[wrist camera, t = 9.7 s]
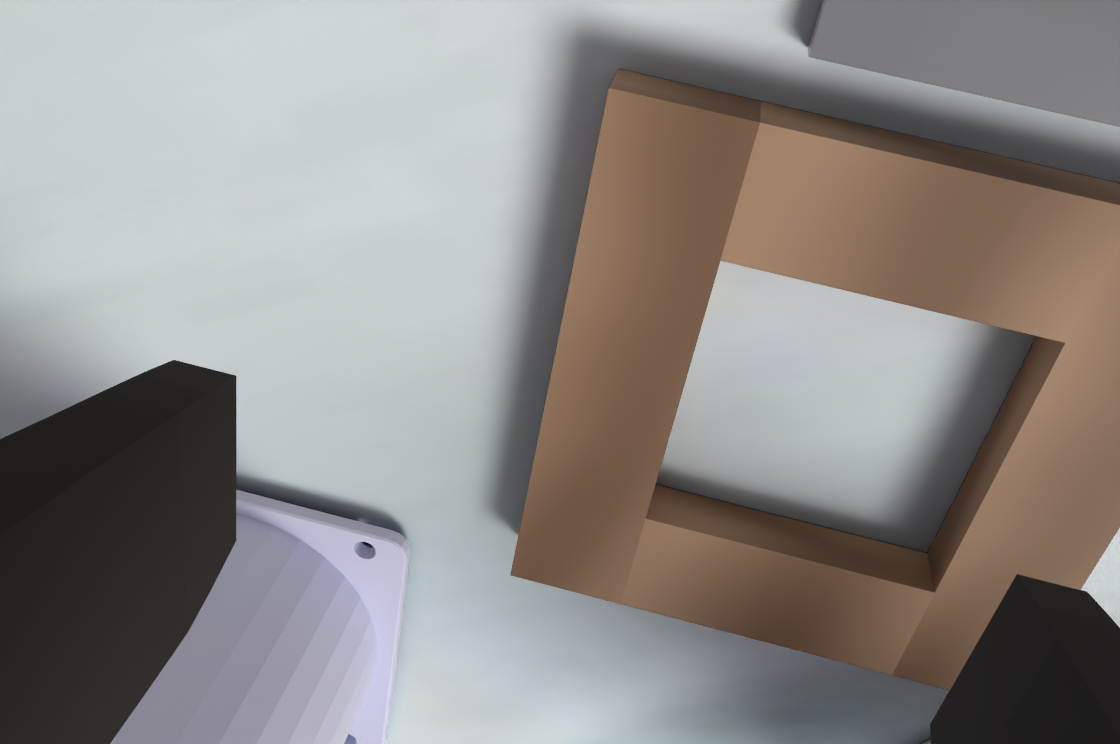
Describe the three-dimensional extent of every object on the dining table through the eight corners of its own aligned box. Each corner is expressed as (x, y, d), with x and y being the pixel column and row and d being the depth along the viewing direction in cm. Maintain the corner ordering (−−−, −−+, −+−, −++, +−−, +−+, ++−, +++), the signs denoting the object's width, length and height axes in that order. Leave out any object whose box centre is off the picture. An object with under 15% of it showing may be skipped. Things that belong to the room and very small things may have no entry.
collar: (522, 540, 23) (510, 575, 22) (618, 68, 17) (608, 88, 16) (997, 663, 23) (1007, 705, 22) (1265, 216, 17) (1296, 246, 16)
